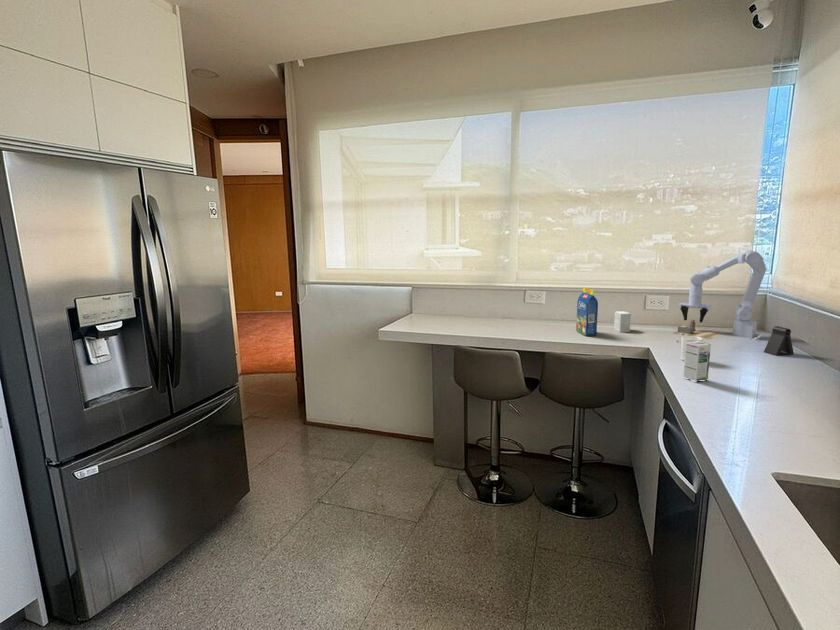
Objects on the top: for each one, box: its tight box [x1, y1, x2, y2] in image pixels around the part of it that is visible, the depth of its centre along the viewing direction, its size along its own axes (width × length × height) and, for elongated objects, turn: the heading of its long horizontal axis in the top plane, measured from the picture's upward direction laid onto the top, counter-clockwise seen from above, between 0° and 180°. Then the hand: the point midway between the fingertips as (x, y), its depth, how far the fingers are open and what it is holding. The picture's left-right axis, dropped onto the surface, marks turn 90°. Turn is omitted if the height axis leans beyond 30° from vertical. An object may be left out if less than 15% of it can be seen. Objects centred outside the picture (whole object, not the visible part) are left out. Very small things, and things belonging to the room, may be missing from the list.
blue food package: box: [575, 287, 599, 337], centre depth 239 cm, size 6×12×25 cm, turn 4°
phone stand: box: [763, 325, 795, 357], centre depth 196 cm, size 9×6×12 cm, turn 97°
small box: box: [613, 310, 632, 333], centre depth 245 cm, size 8×6×10 cm
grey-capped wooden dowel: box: [689, 319, 696, 331], centre depth 237 cm, size 2×2×6 cm
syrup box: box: [683, 341, 712, 381], centre depth 165 cm, size 6×6×14 cm
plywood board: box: [673, 329, 722, 340], centre depth 232 cm, size 18×16×1 cm
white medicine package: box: [680, 335, 704, 360], centre depth 189 cm, size 8×8×10 cm
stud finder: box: [677, 325, 694, 334], centre depth 234 cm, size 6×4×3 cm
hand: (693, 321), depth 236 cm, fingers open, 7 cm apart
